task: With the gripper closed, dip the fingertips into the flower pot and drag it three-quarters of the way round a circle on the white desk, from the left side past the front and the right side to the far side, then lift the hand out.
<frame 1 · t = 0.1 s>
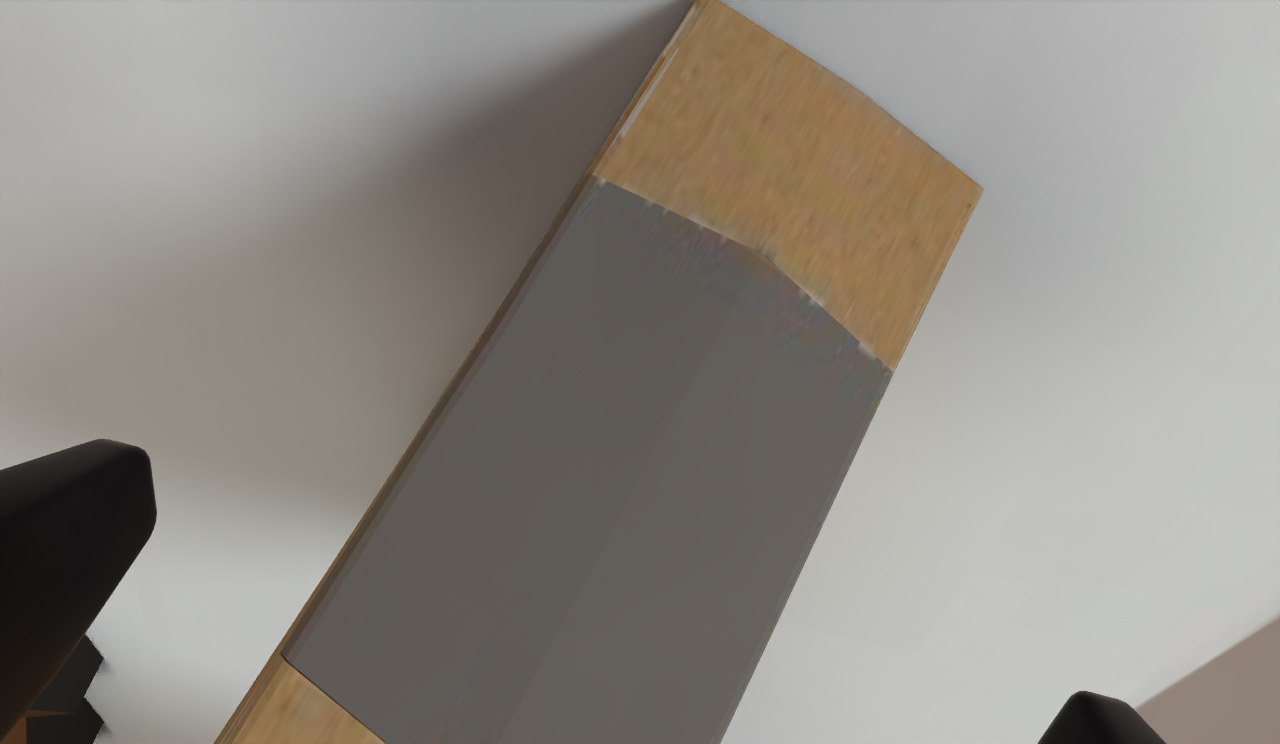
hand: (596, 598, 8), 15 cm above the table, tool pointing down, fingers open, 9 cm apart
sandwich container: (674, 326, 23), on the table
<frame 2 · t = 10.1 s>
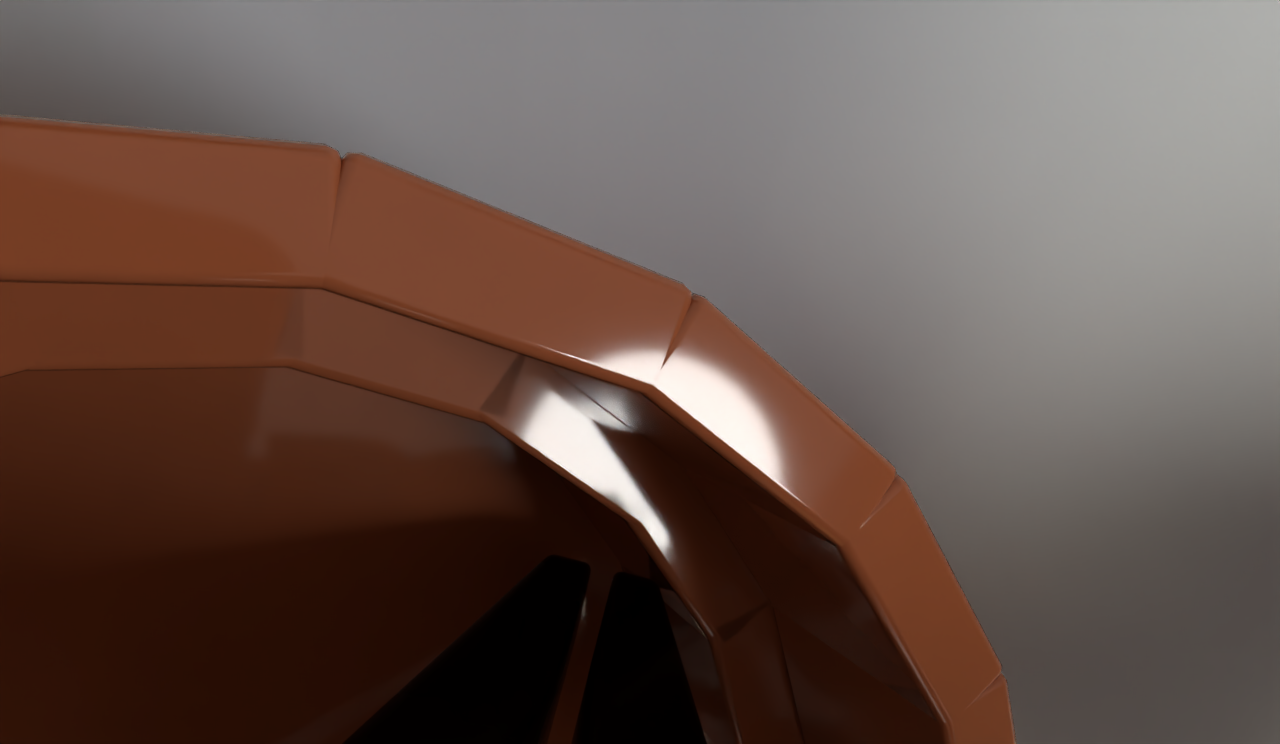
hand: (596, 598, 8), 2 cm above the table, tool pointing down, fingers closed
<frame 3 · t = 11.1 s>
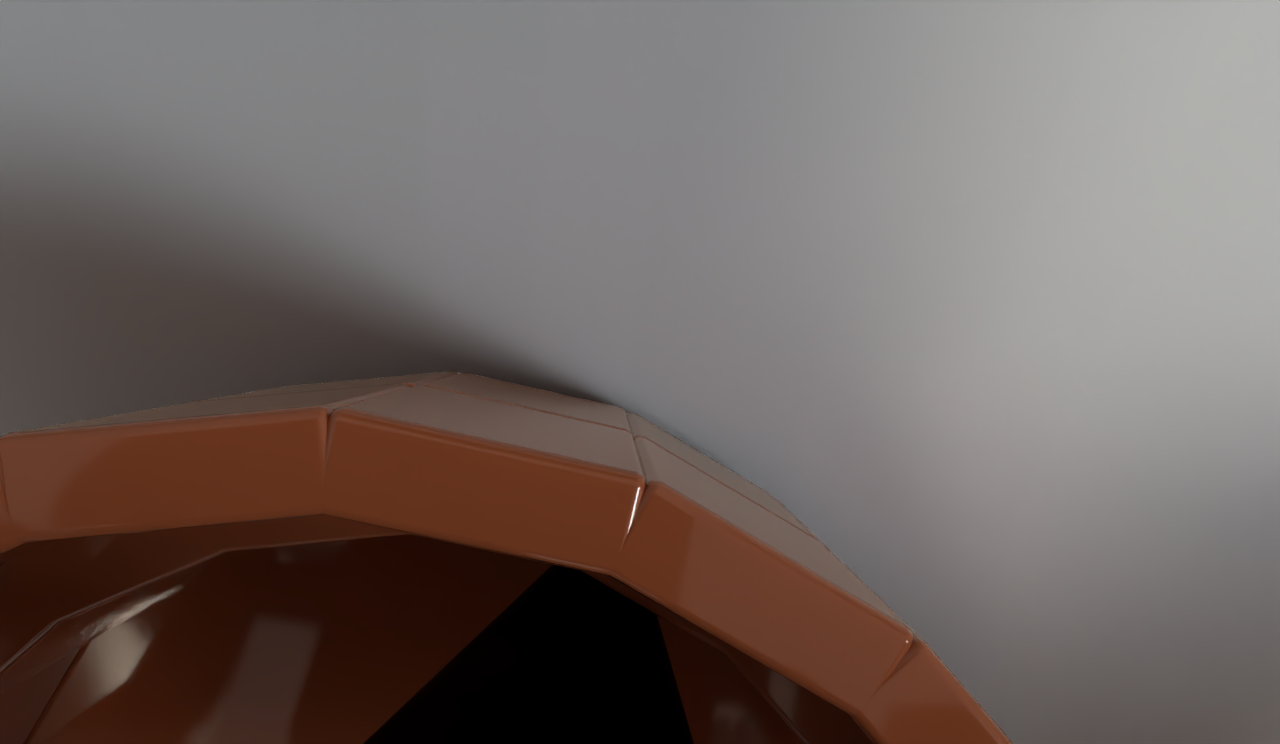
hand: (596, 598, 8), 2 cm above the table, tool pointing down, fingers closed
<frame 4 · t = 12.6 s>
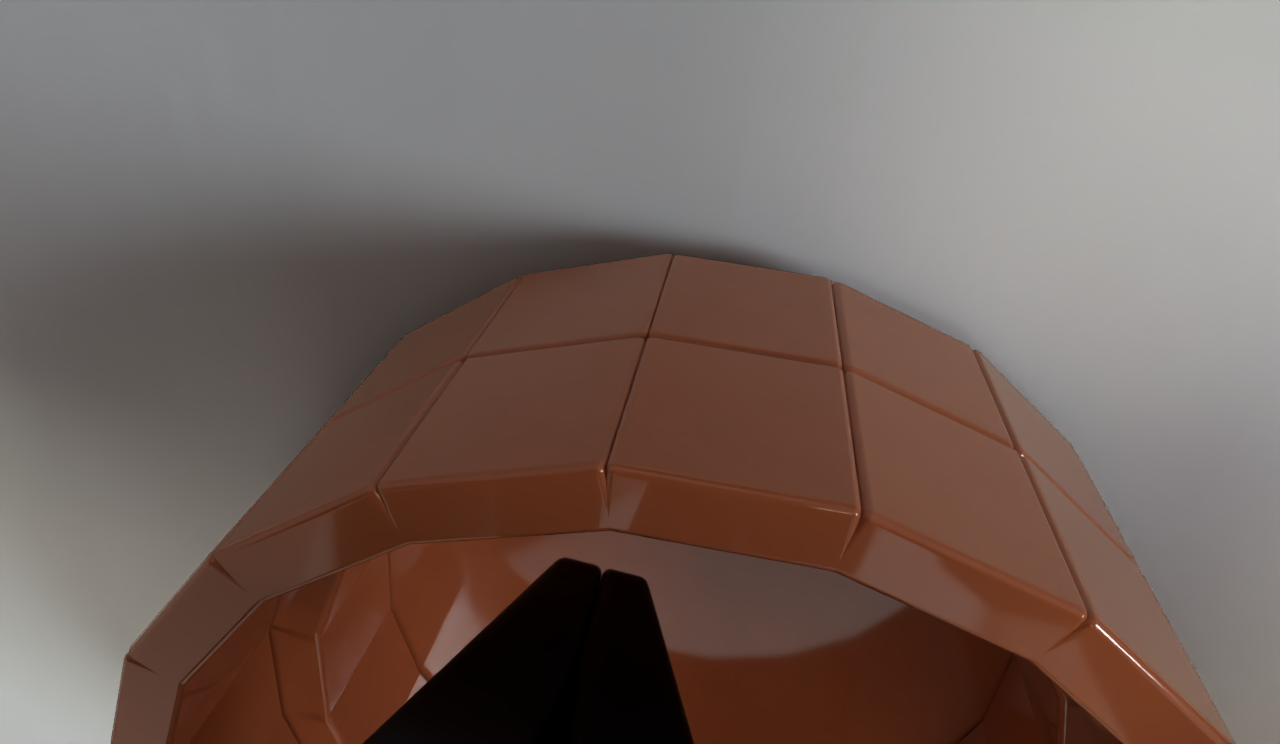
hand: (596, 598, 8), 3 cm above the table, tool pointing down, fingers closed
flower pot: (688, 600, 12), on the table
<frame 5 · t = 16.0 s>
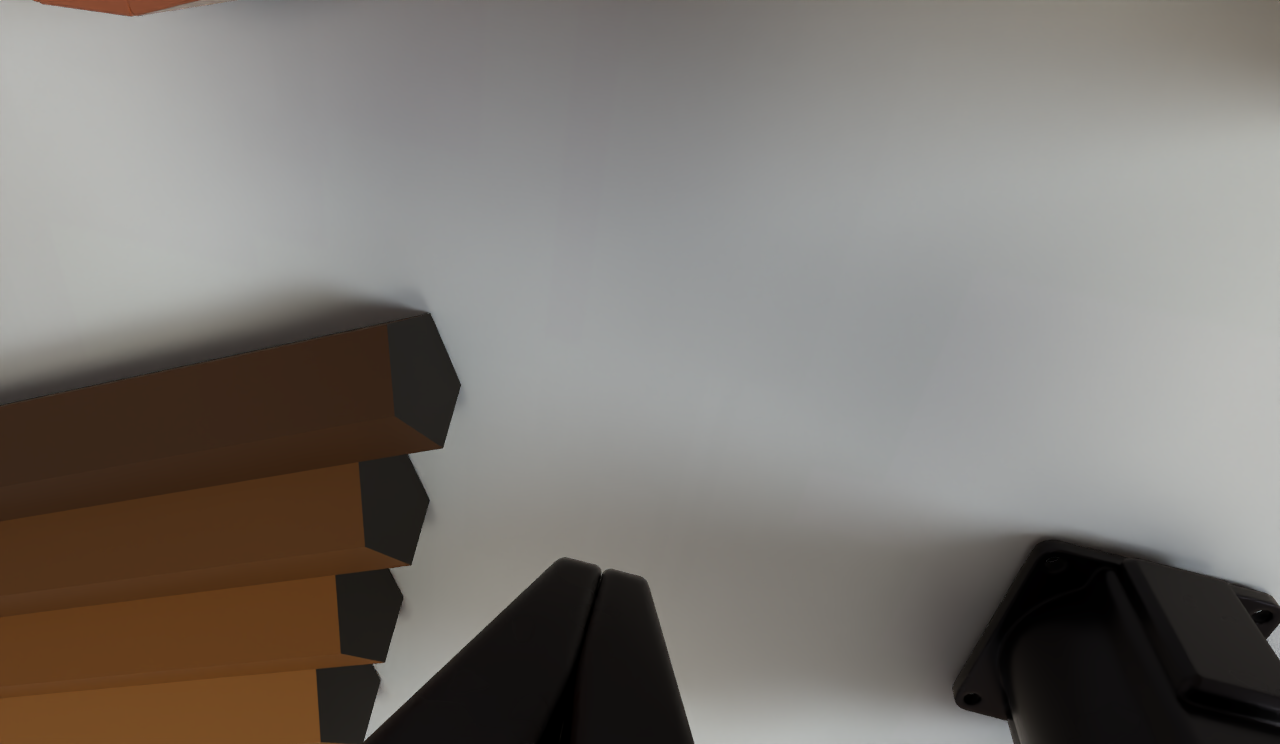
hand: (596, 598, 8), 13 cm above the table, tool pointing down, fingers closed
pan flute: (251, 664, 30), on the table
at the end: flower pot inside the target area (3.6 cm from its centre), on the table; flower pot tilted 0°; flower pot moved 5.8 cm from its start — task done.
